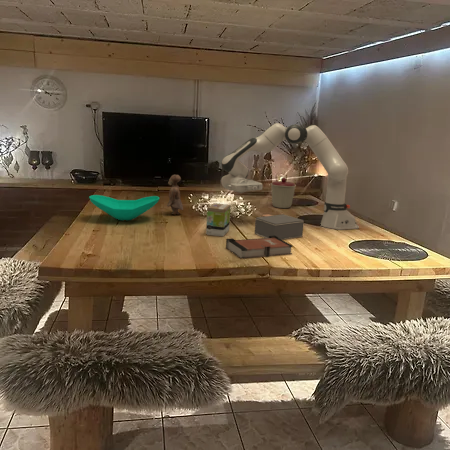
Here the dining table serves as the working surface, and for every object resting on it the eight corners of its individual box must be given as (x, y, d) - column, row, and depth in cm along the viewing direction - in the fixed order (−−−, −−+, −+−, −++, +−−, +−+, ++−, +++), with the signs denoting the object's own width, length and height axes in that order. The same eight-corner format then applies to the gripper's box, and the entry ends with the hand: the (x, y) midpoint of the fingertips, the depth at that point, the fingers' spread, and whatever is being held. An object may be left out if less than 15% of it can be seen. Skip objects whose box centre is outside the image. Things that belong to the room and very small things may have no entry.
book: (241, 260, 192) (242, 249, 191) (225, 249, 208) (226, 238, 207) (292, 255, 203) (293, 244, 202) (274, 245, 218) (274, 235, 217)
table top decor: (86, 224, 239) (85, 200, 236) (93, 213, 265) (92, 192, 262) (159, 225, 245) (159, 202, 242) (159, 214, 272) (159, 193, 269)
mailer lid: (278, 214, 249) (278, 213, 249) (303, 221, 233) (303, 220, 233) (250, 217, 238) (250, 216, 237) (275, 225, 222) (275, 223, 222)
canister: (298, 207, 318) (300, 178, 313) (287, 210, 303) (290, 180, 298) (275, 203, 327) (277, 175, 322) (264, 207, 312) (266, 177, 307)
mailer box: (282, 229, 248) (283, 216, 246) (302, 236, 235) (303, 222, 233) (254, 233, 236) (255, 219, 234) (274, 241, 224) (275, 225, 222)
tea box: (224, 236, 228) (225, 209, 224) (205, 235, 229) (206, 207, 226) (229, 230, 242) (231, 203, 238) (212, 228, 244) (213, 202, 240)
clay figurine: (168, 211, 281) (168, 172, 275) (183, 212, 282) (184, 173, 276) (166, 216, 269) (166, 175, 263) (182, 216, 269) (183, 176, 263)
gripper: (226, 180, 252) (240, 184, 241) (254, 179, 264) (269, 182, 253) (225, 191, 254) (240, 195, 243) (253, 189, 265) (268, 193, 254)
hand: (255, 188), depth 248 cm, fingers closed
